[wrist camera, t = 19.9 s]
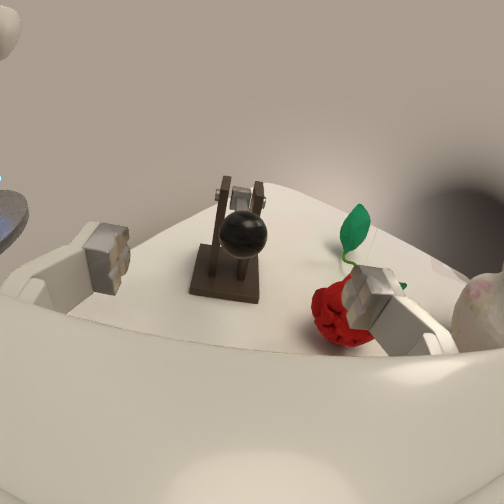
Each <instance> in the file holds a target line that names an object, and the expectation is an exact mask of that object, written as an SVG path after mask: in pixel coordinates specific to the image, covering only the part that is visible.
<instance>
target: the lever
mask: <svg viewBox="0 0 504 504" xmlns="http://www.w3.org/2000/svg"><path fill="white" fill-rule="evenodd" d="M251 194H252V193H251V190H250V189H248V188H242V187H236V186H233V190H232V196H231V201H230V209H231V210H235V212H233V213H231V214H230V215H228V216H227V217H226V218H225V219H224V220H223V222H222V223H221V226H220V228H219V241H220V244H221V246H222V248H223V249H224V251H225V252H226V253H227V254H229V255H230V256H232V257H234V258H237V259H248V258H252V257H254V256H256V255H257V254H258V253H260V252H261V250H262V249H263V248H264V246H265V244H266V241H267V229H266V226H265V223H264V222H263V220H262V219H261V218H260V217H259V216H258V215H256V214H255V213H253V212H250V211H248V209H249V204H250V199H251Z"/></svg>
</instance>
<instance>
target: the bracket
mask: <svg viewBox="0 0 504 504" xmlns="http://www.w3.org/2000/svg"><path fill="white" fill-rule="evenodd" d="M230 182H231V177H230V176H223V180H222V184H221V188H220V190H219V189H217V190H216V195H215V201H218V207H217V213H216V220H215V227H214V234H213V241H212V245H207V244H200V247H199V251H198V255H197V259H196V264H195V268H194V272H193V276H192V281H191V285H190V294H193V295H200V296H206V297H213V298H220V299H227V300H234V301H241V302H248V303H256V304H258V301H259V270H258V254H257V255H256V256H254V257H252V258H248V259H237V258H234V257H232V256H230V255H229V254H227V253H226V252H225V251H224V249H223V248H222V247H220V241H219V228H220V226H221V223H222V222H223V220H224V218H225V212H226V206H227V200H228V194H229V188H230ZM265 203H266V197H264V188H263V182H258V181H255V184H254V189H253V194H252V198H251V203H250V208H249V211H250V212H253V213H255V214H256V215H258V216H259V217H260V214H261V209H262V208H263V209H264V207H265Z"/></svg>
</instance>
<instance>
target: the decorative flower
mask: <svg viewBox="0 0 504 504" xmlns="http://www.w3.org/2000/svg"><path fill="white" fill-rule="evenodd" d="M369 227H370V216H369V214H368V212H367V211H366V209H365V208H364V206H362V204H358V205H357V206H356V207H355V208H354V209H353V210H352V212H351V213H350V214H349V215H348V217H347V218H346V219H345V221H344V223H343V225H342V227H341V230H340V240H341V243H342V245H343V250H344V252H343V255H342V259H343V261H344V262H346V263H348V264H352V265H354V266H355V265H357V264H356V263H354V262H351V261H347V260H346V259H345V255H346V253H348V252H349V251H352V250H354V249H356V248H357V247H358V246H359V245H360V244H361V243H362V242H363V241H364V239H365V238H366V236H367V233H368V230H369ZM351 278H352V277H351V273H350V274H349V275H348V276H347V277H346V278H345V279H344V280H343V281H340V282H336V283H334V284H332V285H331V286H329V287H328V288H320V289H318V290H316V291H315V293H314V295H313V297H312V305H311V309H312V314H313V316H314V318H315V320H314V323H315V325H316V326H317V328H318V330H319V331H320V333H321V334H322V335H323V337H324V338H325V339H327V340H328V341H330V342H333V343H337V344H339V345H343V346H348V347H355V346H359V345H361V344H364V343H367V342H369V341H371V340H373V339H375V338H374V337H373V336H372V334H371V333H370V332H369V330H361V329H350V327H349V324H348V320H347V317H346V314H347V312H348V310H347V309H346V308H345V307H344V306H343V304H342V298H341V295H342V289H343V287H344V285H345V283H346V282H347V281H348V280H349V279H351ZM399 284H400V286H401V288H402V290H404V289H405V288H406V286H407V284H406V283H400V282H399Z"/></svg>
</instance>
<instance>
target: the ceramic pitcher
mask: <svg viewBox="0 0 504 504" xmlns="http://www.w3.org/2000/svg"><path fill="white" fill-rule="evenodd" d="M451 335H452V338H453V340H454V342H455V344H456V346H457V349H458V351H459V353H465V352H475V351H484V350H492V349H500V348H504V263H503V268H502V272H501V273H498V274H491V273H485V274H481V275H478V276H476V277H474V278H473V279H472V280H470V281H469V282H468V283H467V285H466V286H465V288H464V289H463V291H462V292H461V294H460V297H459V299H458V301H457V303H456V305H455V308H454V312H453V316H452V323H451Z"/></svg>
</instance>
